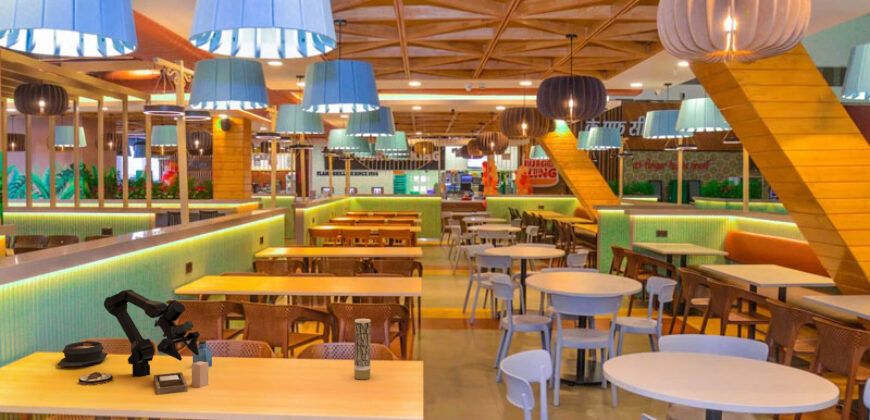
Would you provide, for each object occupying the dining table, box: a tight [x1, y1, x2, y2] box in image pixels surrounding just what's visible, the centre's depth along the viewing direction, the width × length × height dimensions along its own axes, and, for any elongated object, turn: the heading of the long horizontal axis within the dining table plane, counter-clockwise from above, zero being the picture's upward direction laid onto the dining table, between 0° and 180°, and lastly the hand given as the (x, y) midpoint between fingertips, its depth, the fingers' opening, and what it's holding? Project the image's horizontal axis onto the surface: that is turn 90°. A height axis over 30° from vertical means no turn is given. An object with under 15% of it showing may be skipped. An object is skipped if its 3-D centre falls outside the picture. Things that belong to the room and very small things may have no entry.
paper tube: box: [353, 318, 372, 381], centre depth 303 cm, size 7×7×25 cm
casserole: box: [57, 340, 108, 367], centre depth 322 cm, size 25×19×8 cm
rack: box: [153, 371, 189, 396], centre depth 285 cm, size 21×11×3 cm, turn 25°
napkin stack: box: [159, 375, 179, 381], centre depth 289 cm, size 7×7×2 cm
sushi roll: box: [78, 371, 113, 386], centre depth 293 cm, size 15×15×4 cm
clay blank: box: [191, 361, 209, 389], centre depth 286 cm, size 4×4×10 cm
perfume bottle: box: [192, 339, 213, 368], centre depth 317 cm, size 6×6×12 cm
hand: (189, 357), depth 288 cm, fingers open, 9 cm apart
